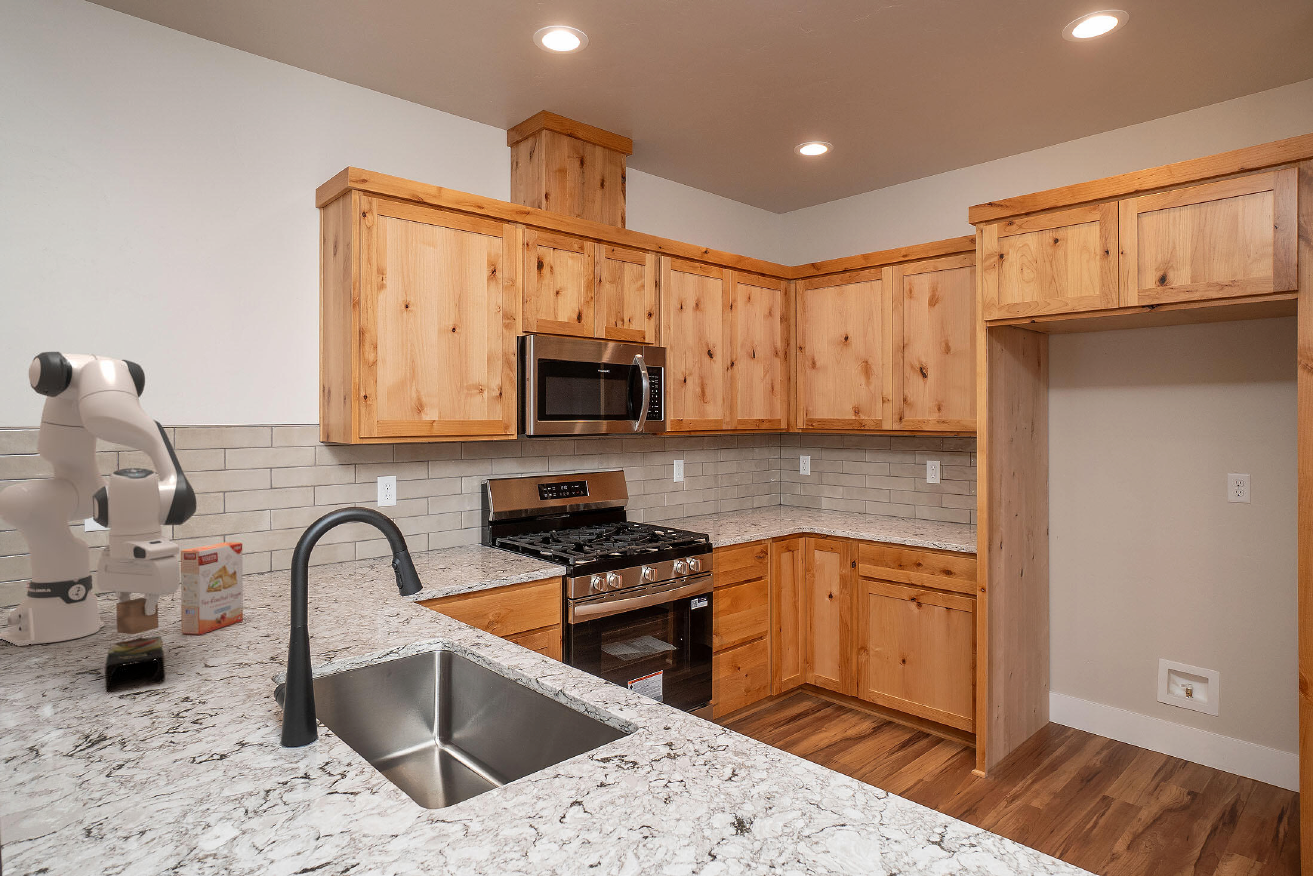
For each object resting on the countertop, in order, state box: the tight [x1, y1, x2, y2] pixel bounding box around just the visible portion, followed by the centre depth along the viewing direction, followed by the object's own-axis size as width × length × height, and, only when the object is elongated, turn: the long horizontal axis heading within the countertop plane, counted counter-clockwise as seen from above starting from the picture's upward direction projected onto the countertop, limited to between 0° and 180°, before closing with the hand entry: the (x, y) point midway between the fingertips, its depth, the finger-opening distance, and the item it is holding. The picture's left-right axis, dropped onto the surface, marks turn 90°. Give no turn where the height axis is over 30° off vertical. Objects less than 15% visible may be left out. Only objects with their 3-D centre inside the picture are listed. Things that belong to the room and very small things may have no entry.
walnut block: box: [116, 597, 159, 635], centre depth 149 cm, size 5×5×6 cm
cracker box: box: [180, 541, 244, 636], centre depth 183 cm, size 14×6×21 cm, turn 168°
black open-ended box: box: [104, 636, 166, 693], centre depth 148 cm, size 20×10×6 cm, turn 36°
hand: (138, 613), depth 149 cm, fingers closed on walnut block, 5 cm apart
